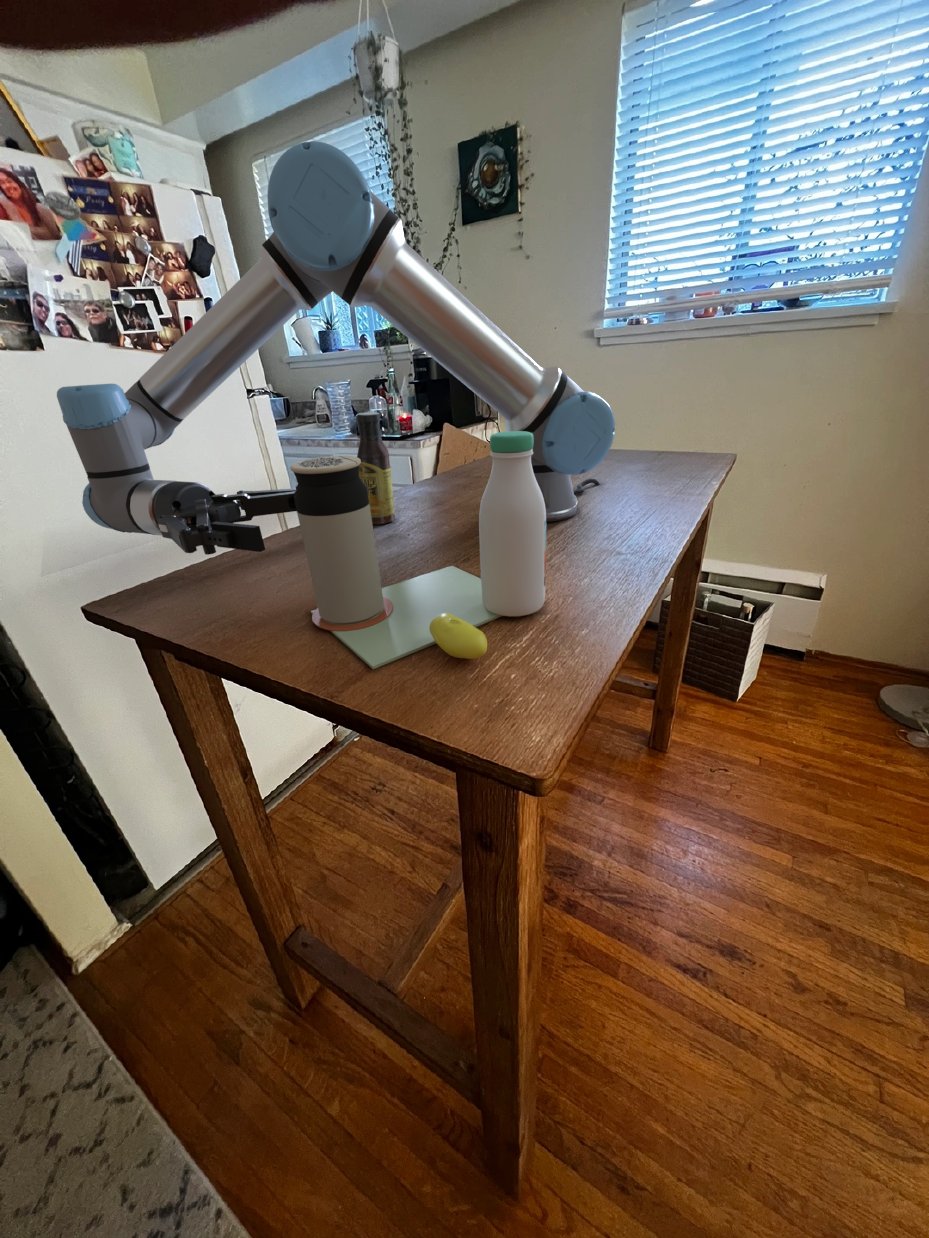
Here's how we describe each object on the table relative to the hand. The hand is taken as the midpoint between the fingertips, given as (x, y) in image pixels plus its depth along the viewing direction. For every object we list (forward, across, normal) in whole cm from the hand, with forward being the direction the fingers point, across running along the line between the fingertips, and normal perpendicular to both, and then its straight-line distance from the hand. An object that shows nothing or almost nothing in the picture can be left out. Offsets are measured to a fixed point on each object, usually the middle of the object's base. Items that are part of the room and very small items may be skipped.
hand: (302, 520), depth 59 cm
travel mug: (+5, 0, -11) cm, 12 cm away
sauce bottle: (-14, -36, -12) cm, 40 cm away
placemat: (+12, -4, -12) cm, 18 cm away
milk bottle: (+23, -8, -11) cm, 27 cm away
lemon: (+21, +4, -12) cm, 25 cm away
